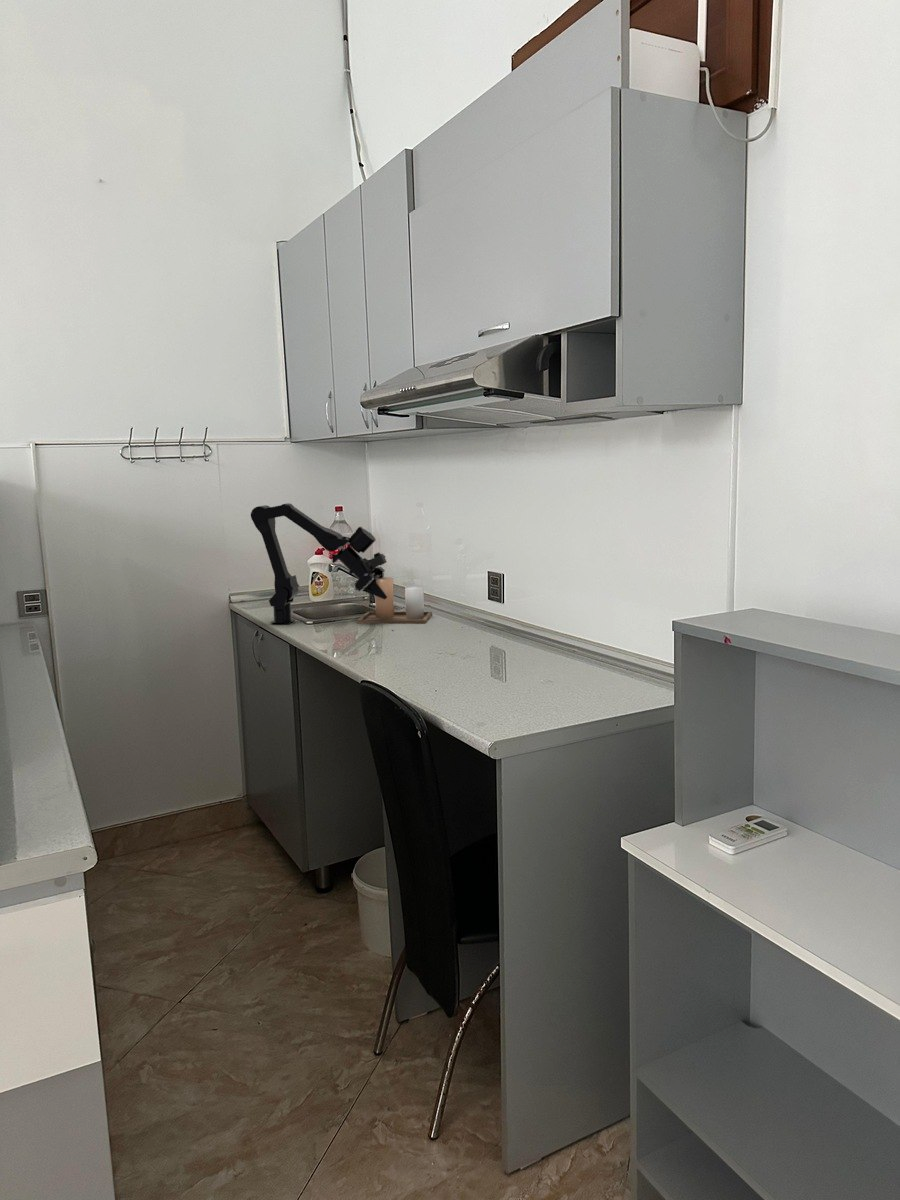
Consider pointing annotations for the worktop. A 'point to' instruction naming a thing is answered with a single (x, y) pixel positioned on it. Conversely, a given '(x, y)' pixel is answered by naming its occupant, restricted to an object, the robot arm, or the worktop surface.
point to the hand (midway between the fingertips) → (388, 596)
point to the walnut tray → (392, 619)
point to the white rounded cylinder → (414, 602)
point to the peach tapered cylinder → (385, 605)
